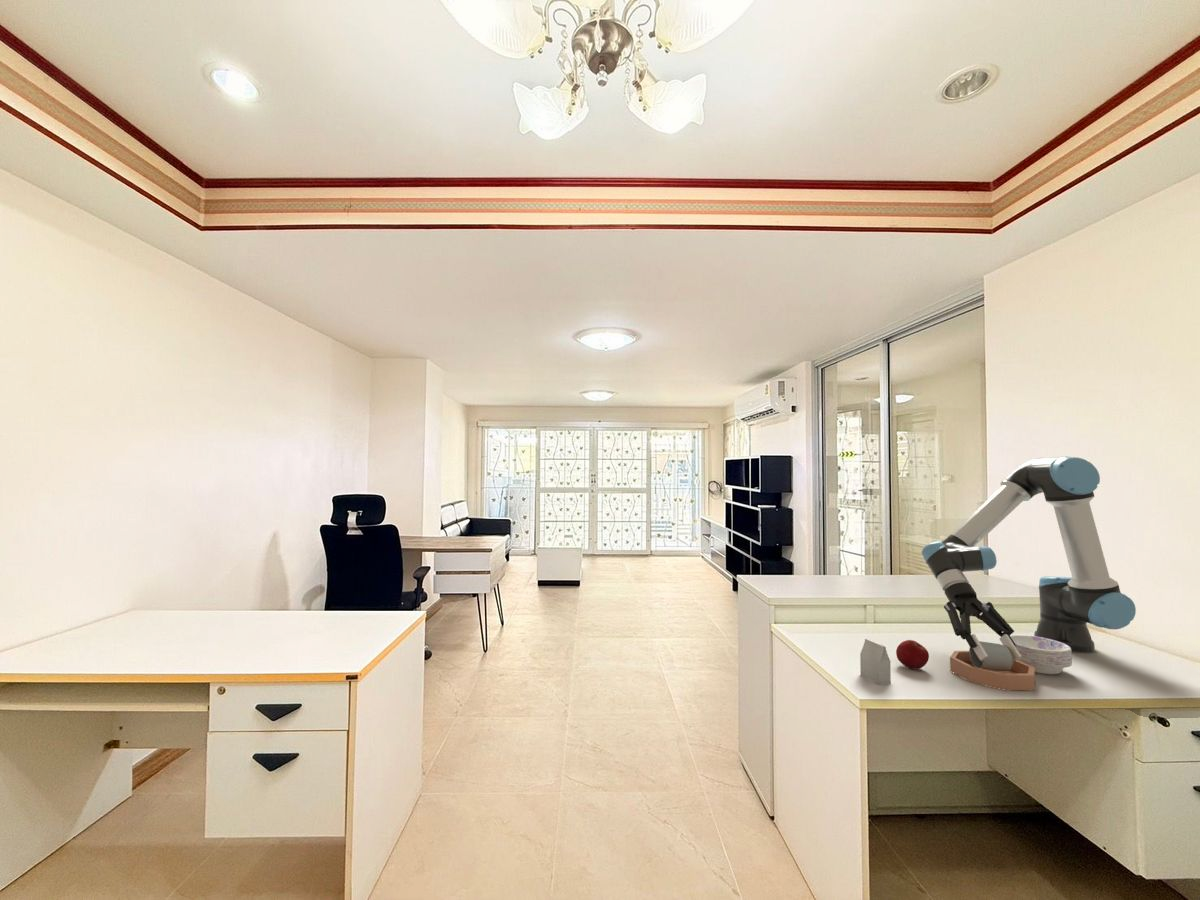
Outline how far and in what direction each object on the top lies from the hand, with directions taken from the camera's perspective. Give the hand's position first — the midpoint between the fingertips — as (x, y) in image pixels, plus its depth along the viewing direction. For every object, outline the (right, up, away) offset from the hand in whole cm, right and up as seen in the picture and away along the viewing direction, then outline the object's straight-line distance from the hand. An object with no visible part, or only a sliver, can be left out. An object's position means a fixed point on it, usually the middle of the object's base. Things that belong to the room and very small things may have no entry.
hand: (1000, 658), depth 138 cm
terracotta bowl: (0, -6, +3) cm, 7 cm away
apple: (-19, -7, +8) cm, 22 cm away
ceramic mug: (0, -5, +4) cm, 7 cm away
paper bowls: (+19, -7, +9) cm, 22 cm away
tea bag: (-35, -6, 0) cm, 36 cm away
